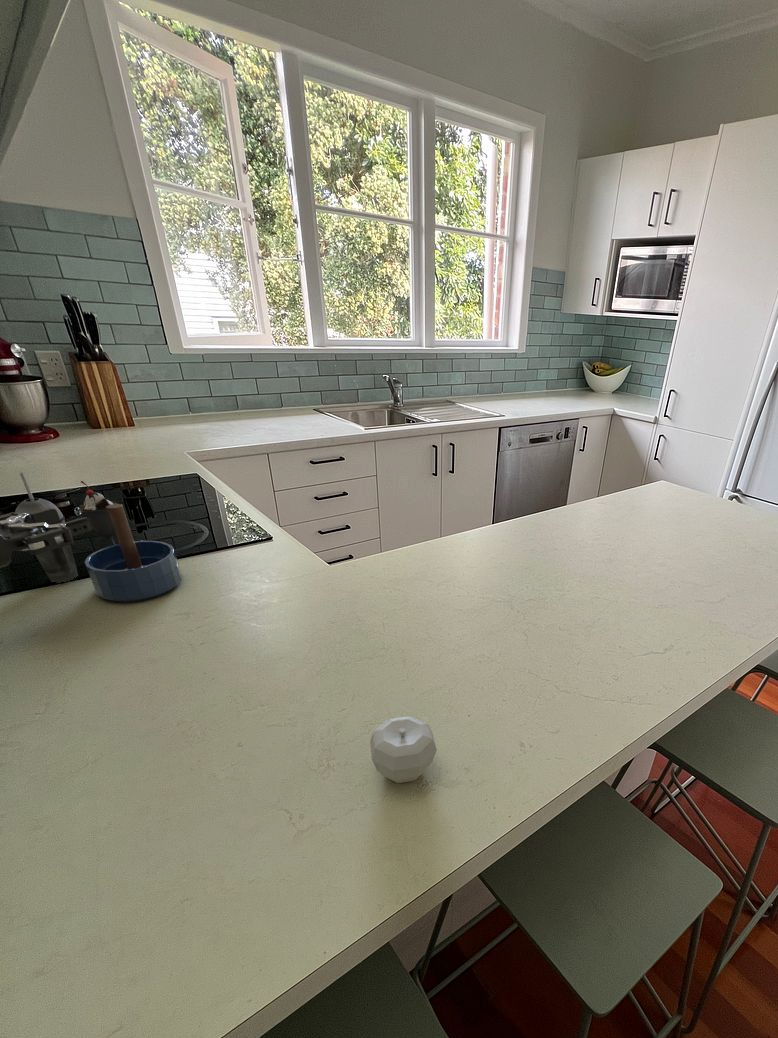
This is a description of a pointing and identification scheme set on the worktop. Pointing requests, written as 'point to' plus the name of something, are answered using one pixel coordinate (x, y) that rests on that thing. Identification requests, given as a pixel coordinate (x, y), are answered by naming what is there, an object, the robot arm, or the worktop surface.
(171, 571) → the bowl
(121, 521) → the brown pestle
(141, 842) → the worktop surface
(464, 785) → the worktop surface
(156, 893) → the worktop surface
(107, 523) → the sundae
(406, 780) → the apple
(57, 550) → the beverage cup
